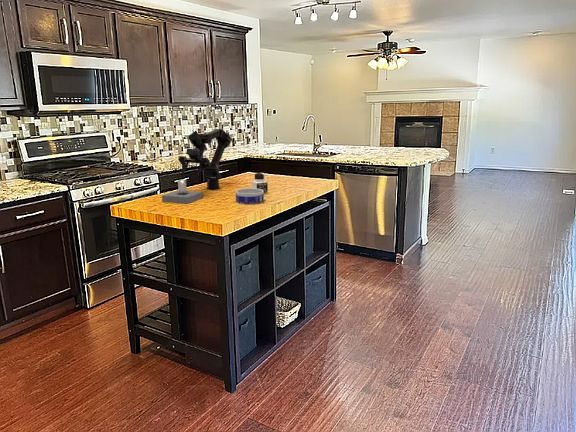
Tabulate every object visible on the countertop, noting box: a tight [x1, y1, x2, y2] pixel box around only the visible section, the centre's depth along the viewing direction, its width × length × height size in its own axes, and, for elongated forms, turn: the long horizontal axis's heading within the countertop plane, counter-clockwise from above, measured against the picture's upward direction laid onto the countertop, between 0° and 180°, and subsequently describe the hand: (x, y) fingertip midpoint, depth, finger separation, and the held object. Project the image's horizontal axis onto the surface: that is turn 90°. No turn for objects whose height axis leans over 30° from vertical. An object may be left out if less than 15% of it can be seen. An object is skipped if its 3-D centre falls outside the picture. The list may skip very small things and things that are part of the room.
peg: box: [177, 179, 188, 195], centre depth 245 cm, size 4×4×11 cm
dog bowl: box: [235, 187, 265, 205], centre depth 242 cm, size 15×15×6 cm
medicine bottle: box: [251, 172, 269, 195], centre depth 262 cm, size 7×7×12 cm
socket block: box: [161, 189, 204, 205], centre depth 246 cm, size 16×16×4 cm
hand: (189, 173), depth 250 cm, fingers open, 9 cm apart
